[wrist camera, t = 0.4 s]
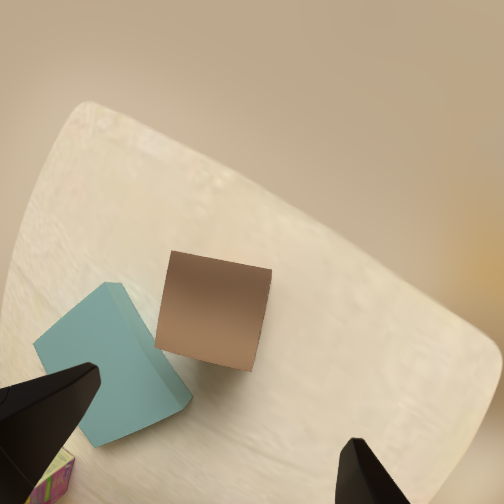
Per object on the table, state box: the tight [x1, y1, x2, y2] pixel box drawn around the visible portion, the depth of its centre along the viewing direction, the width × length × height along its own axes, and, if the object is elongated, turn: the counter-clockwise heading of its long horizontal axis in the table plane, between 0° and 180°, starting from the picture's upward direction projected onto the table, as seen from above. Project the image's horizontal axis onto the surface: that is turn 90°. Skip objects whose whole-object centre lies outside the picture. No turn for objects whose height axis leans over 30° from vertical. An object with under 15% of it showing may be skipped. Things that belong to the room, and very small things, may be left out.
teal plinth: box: [33, 282, 193, 448], centre depth 22 cm, size 12×12×3 cm
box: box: [25, 447, 74, 504], centre depth 16 cm, size 10×6×12 cm, turn 152°
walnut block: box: [154, 251, 272, 372], centre depth 18 cm, size 5×5×10 cm
